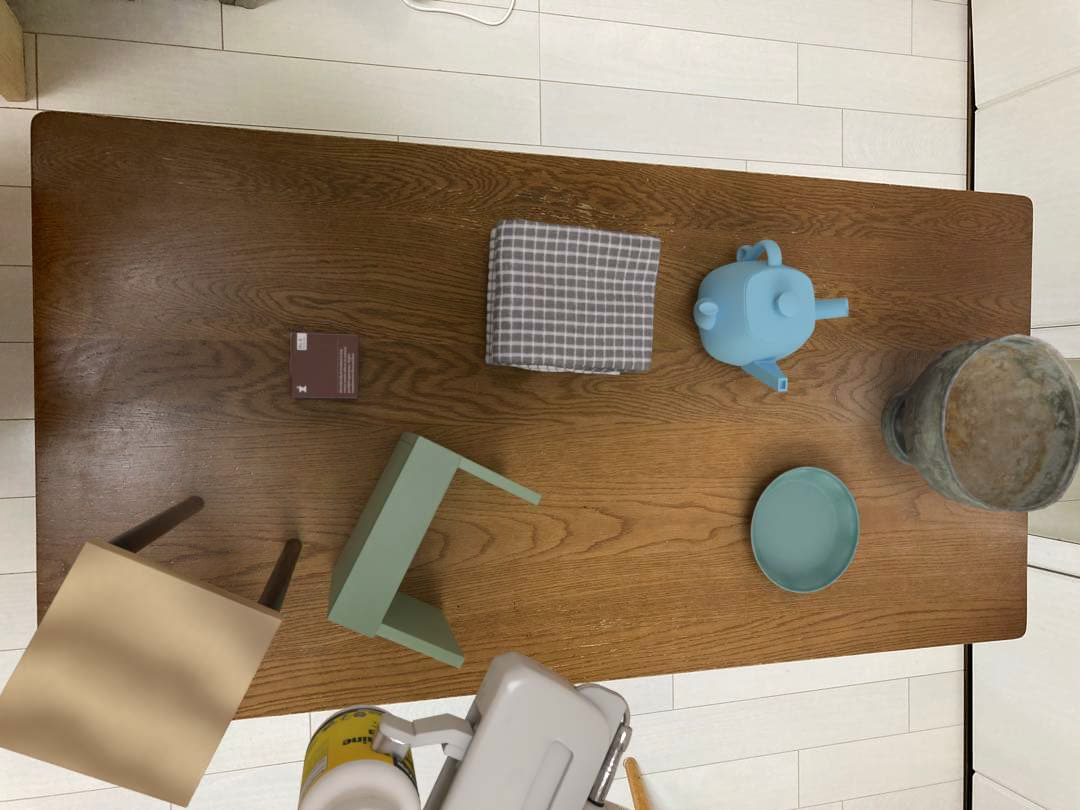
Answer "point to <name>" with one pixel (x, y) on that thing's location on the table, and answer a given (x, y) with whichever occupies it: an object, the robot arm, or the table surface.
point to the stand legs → (186, 509)
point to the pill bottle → (355, 767)
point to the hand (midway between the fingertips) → (343, 799)
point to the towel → (570, 298)
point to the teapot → (759, 312)
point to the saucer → (805, 529)
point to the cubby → (402, 549)
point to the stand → (134, 673)
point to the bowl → (991, 424)
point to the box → (324, 366)
